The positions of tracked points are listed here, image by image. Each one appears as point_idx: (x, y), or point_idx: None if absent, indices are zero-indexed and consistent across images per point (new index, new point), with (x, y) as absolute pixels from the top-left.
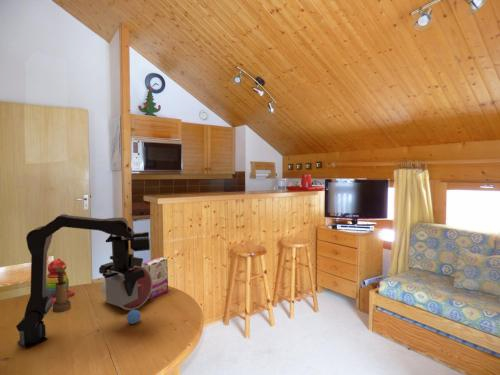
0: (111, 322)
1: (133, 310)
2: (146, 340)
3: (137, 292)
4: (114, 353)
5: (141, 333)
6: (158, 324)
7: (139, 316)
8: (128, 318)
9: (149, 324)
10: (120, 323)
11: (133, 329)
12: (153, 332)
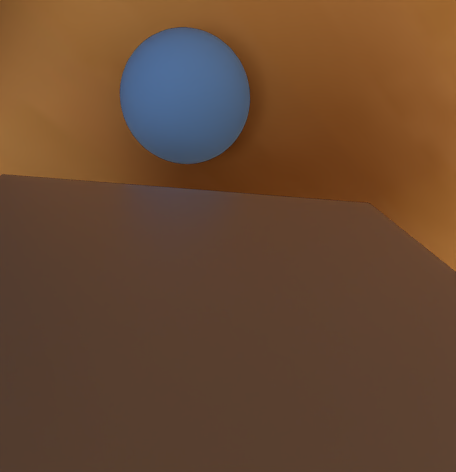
0: (9, 171)
1: (184, 104)
2: (431, 232)
3: (421, 251)
4: None
5: (350, 186)
6: (399, 18)
7: (247, 83)
8: (183, 163)
9: (326, 54)
10: (90, 150)
11: (258, 171)
12: (424, 138)
